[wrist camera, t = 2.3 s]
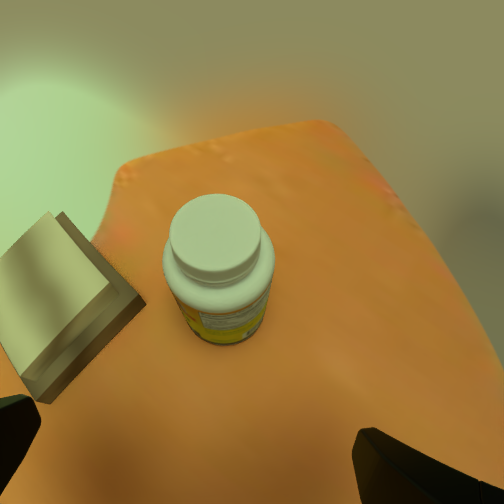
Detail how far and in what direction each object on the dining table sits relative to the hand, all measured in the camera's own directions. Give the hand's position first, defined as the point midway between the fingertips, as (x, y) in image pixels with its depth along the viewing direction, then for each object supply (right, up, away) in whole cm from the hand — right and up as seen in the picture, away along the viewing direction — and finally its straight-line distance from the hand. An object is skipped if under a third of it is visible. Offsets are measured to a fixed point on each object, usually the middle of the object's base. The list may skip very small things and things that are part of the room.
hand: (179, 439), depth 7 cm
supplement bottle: (0, +1, +16) cm, 16 cm away
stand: (-14, 0, +15) cm, 20 cm away
